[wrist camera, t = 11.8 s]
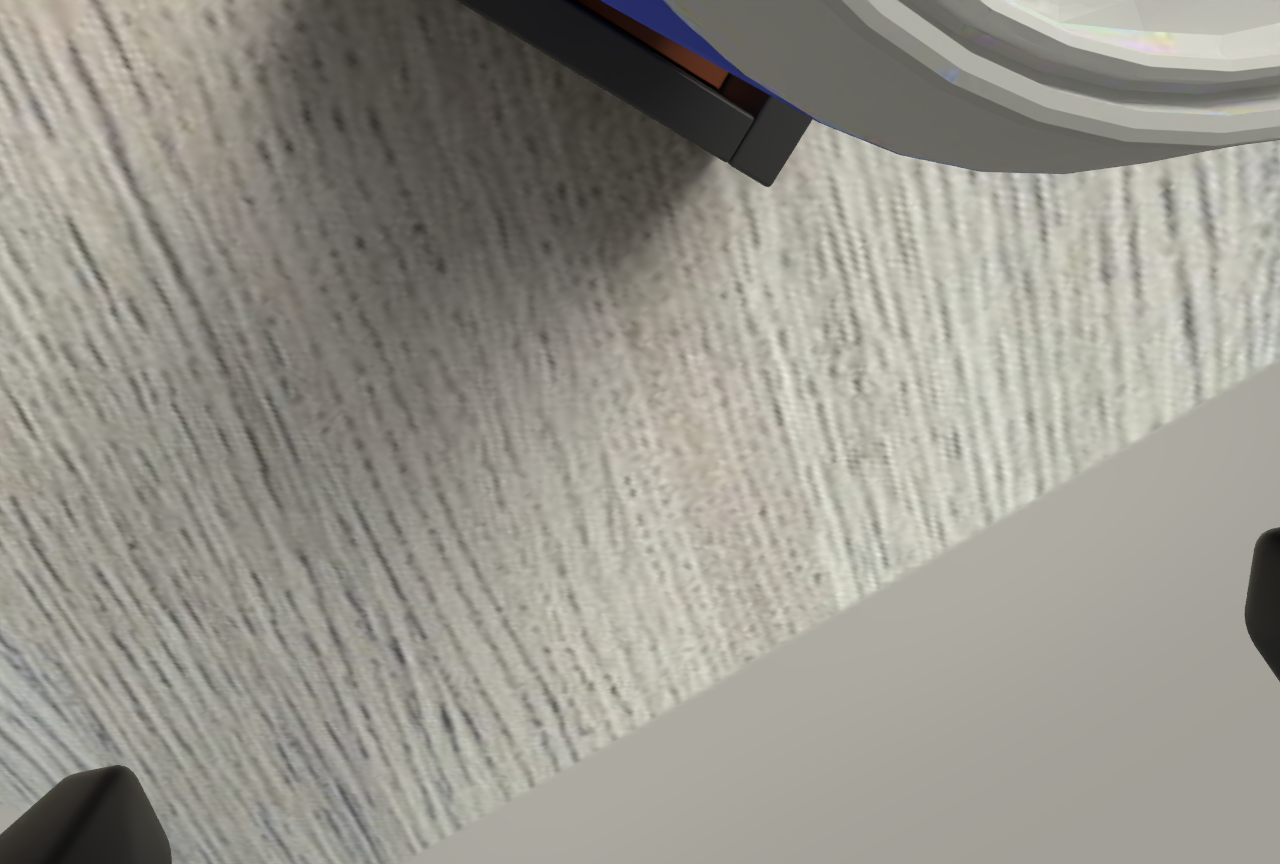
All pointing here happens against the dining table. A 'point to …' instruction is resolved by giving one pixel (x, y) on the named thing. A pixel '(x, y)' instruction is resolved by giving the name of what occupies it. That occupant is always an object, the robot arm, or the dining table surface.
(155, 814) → the robot arm
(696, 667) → the dining table surface
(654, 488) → the dining table surface
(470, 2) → the holder
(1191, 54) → the beverage can
